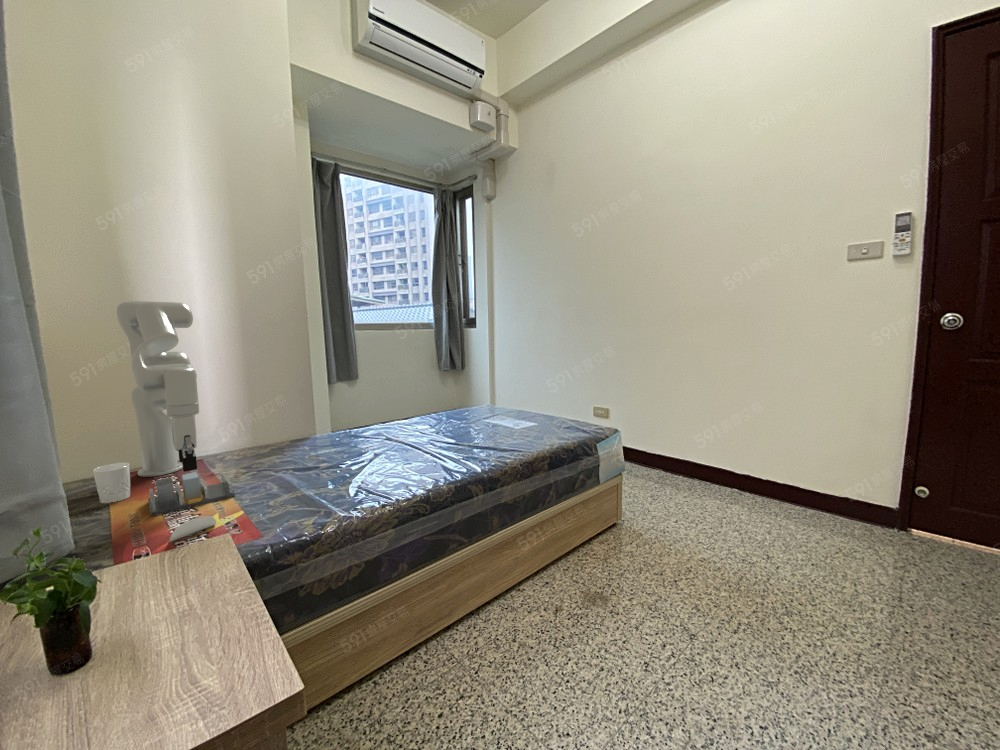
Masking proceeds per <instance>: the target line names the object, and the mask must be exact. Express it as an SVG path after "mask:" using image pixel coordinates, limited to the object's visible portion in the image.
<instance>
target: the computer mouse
mask: <svg viewBox="0 0 1000 750" xmlns="http://www.w3.org/2000/svg"><path fill="white" fill-rule="evenodd" d="M215 525H217V519H216V518H215V517H213V516H210V515H207V516H206V515H205V516H199V517H196V518H192V519H190V520H188V521H186V522H183V523H181V524H177V525H175V526H173V527H171V528H169V529H167V531H169V530H172V529H174V530H173V531H172V533H171V535H170V538H169V541H168V543H171V542H174V541H177V540H179V539H182V538H185V537H187V536H189V535H192V534H194V533H197V532H200V531H203V530H206V529H208V528H210V527H213V526H215Z"/></svg>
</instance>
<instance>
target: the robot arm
mask: <svg viewBox="0 0 1000 750" xmlns="http://www.w3.org/2000/svg"><path fill="white" fill-rule="evenodd" d="M116 316H117V319H118V323H119V326H120V327H121V329H122V330H123V332H124V334H125V336H126V337H127V340H128V343H129V349H130V357H131V370H132V373H133V377H134V381H135V383H136V387H134V388H133V389H132V390H131V394H130V396H131V398H130V399H131V402H132V405H133V408H134V412H135V415H136V419H137V428H138V437H139V443H140V454H141V462H142V468H140V469H139V470H137V476H139V477H145V478H146V477H159V476H164V475H168V474H172V473H175V472H178V471H180V470H182V471H183V472H184V473H185V472H189V471H194V470H197V469H198V465H197V464H198V463H197V455H196V450H195V448H197V425H196V417H195V416H196V415H199V414H200V406H199V394H198V393H199V392H198V383H197V382H198V381H197V380H198V379H197V378H198V377H197V372H196V369H195V368H194V367H193V366H192V365H191V361H190V358H189V357H188V355H187V354H186V353H185V352H183V351H171V350H173V349H174V348H175V347H177V346H178V344H179V336H178V334H177V331H176V329H188V328H190V327H191V326H192V325H193V322H194V317H193V316H194V315H193V312H192V310H191V308H190V307H189V305H187V303H184V302H172V301H167V302H166V301H150V300H149V301H147V300H146V301H143V300H141V301H140V300H133V301H132V300H131V301H124V302H121V303H119V304H118V305H117V307H116ZM164 410H166V413H165V412H164ZM177 453H178V455H177ZM177 457H178V458H177ZM178 461H179V462H178Z"/></svg>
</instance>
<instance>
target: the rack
mask: <svg viewBox="0 0 1000 750" xmlns="http://www.w3.org/2000/svg"><path fill="white" fill-rule="evenodd" d="M199 483H200V493H201V497H197V498H193V499H188V500H186V499H185V497H184V494H183V490H181V487H180V484H179V483H178V482H176V483H174V481H173V479H172V477H166V478H163V479H157V480H155V488H156V496H155V495H154V490H153V488H148V494H149V498H148V499H147V502H148V506H149V512H150V517H154V516H155V517H156V516H158V515H162V514H166V513H171V512H175V511H179V510H184V509H187V508H191V507H197V506H200V505H205V504H209V503H213V502H217V501H220V500H225V499H228V498H230V499H231V498H233V497H236V495H235V494H236V493H235V492H234V489H233V483H232V481H231V480H230V479H229V478H228V476H227V474H226V473H221V482H218V483H214V484H209V485H207V483H205V481H204V479H203V478H202V477H201V478H200V477H199Z"/></svg>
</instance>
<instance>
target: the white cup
mask: <svg viewBox="0 0 1000 750" xmlns="http://www.w3.org/2000/svg"><path fill="white" fill-rule="evenodd" d="M92 471H93V476H94V483H95V485H96V490H97V491H96V492H97V494H98V499H99V502H100V503H101V504H112V503H111V502H113V503H117V501H118V502H121V501H123V500H126V499H128V498H130V496H131V474H130V473H131V471H130V463H129V462H114V463H109V464H105V465H101V466H98V467H95V468H94V469H92Z"/></svg>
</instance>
